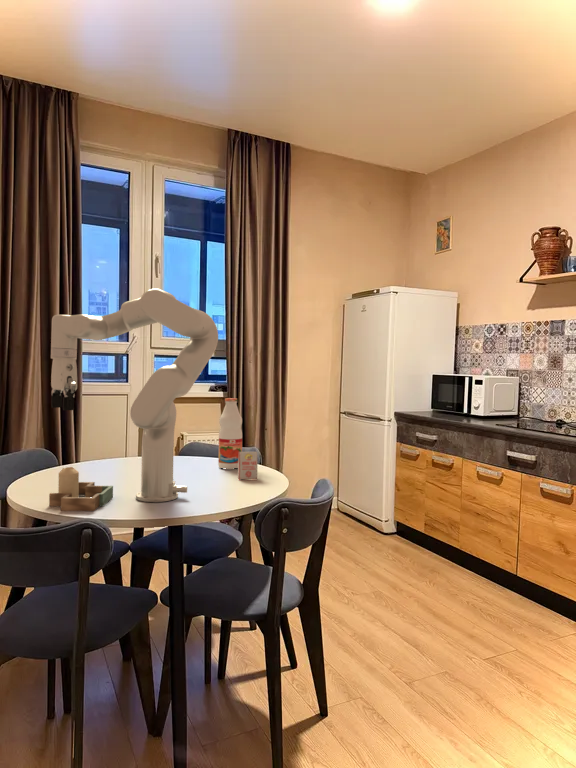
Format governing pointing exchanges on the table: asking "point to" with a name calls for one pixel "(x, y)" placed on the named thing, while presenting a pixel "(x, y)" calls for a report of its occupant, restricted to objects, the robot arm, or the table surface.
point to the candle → (69, 481)
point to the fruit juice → (230, 435)
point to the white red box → (247, 465)
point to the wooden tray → (82, 498)
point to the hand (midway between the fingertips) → (62, 408)
